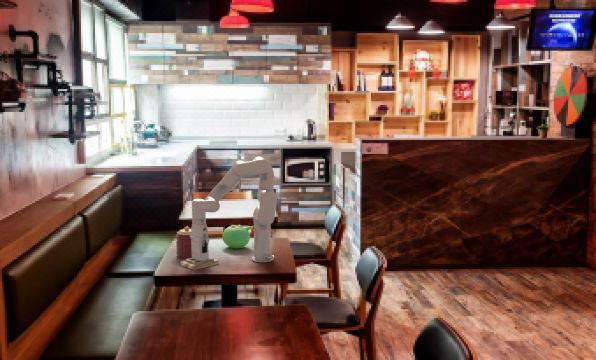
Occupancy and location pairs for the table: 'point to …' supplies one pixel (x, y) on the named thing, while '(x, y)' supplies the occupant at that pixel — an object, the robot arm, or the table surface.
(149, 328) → the table surface
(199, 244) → the small box
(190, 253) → the canister
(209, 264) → the maple base
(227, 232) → the green rounded piece
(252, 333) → the table surface
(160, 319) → the table surface
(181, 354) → the table surface
